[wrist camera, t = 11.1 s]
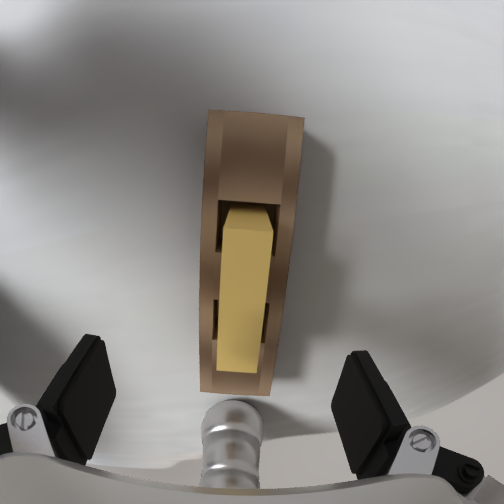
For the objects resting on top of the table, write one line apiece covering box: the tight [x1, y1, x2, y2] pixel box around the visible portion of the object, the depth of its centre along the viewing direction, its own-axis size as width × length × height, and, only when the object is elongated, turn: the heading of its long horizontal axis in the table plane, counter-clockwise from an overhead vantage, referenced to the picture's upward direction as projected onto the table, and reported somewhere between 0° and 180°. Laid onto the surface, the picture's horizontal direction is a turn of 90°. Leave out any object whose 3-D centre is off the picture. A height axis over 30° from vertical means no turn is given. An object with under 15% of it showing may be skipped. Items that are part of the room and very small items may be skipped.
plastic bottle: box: [199, 400, 264, 489], centre depth 21 cm, size 6×7×20 cm
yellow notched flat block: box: [216, 203, 273, 373], centre depth 20 cm, size 9×2×8 cm, turn 175°
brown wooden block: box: [199, 110, 304, 396], centre depth 23 cm, size 22×6×4 cm, turn 175°
